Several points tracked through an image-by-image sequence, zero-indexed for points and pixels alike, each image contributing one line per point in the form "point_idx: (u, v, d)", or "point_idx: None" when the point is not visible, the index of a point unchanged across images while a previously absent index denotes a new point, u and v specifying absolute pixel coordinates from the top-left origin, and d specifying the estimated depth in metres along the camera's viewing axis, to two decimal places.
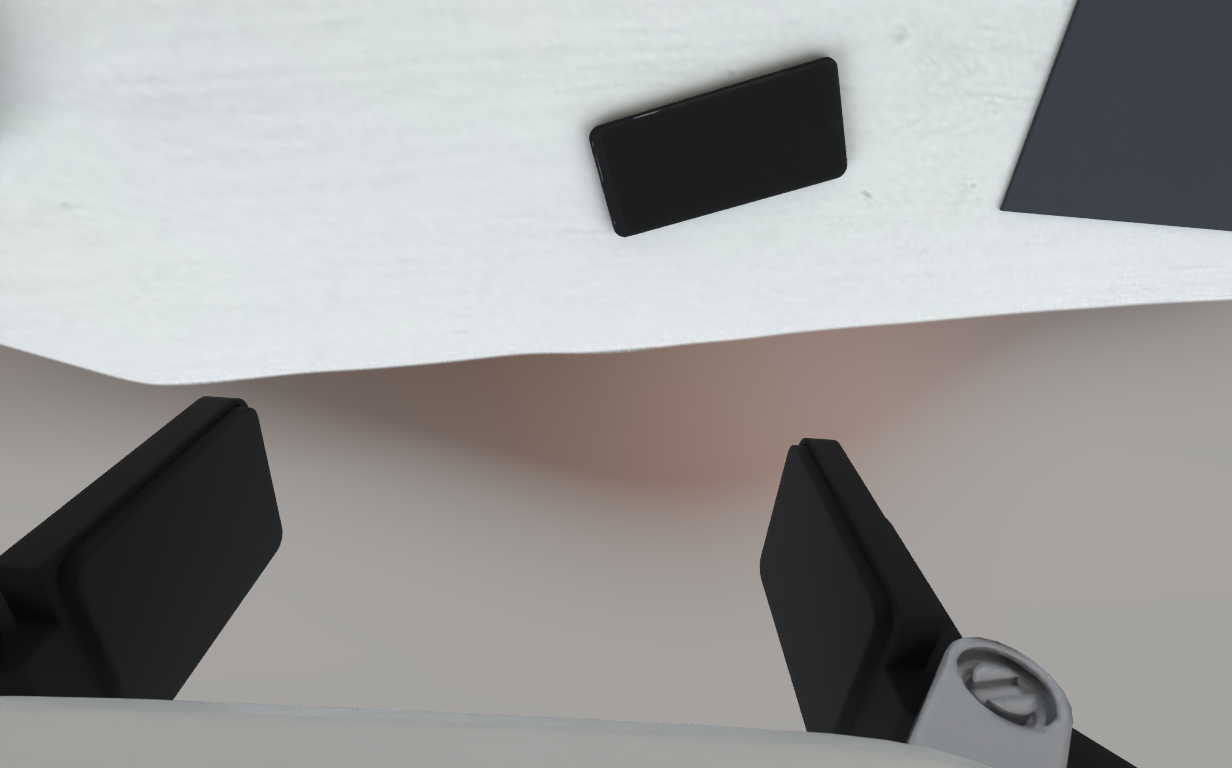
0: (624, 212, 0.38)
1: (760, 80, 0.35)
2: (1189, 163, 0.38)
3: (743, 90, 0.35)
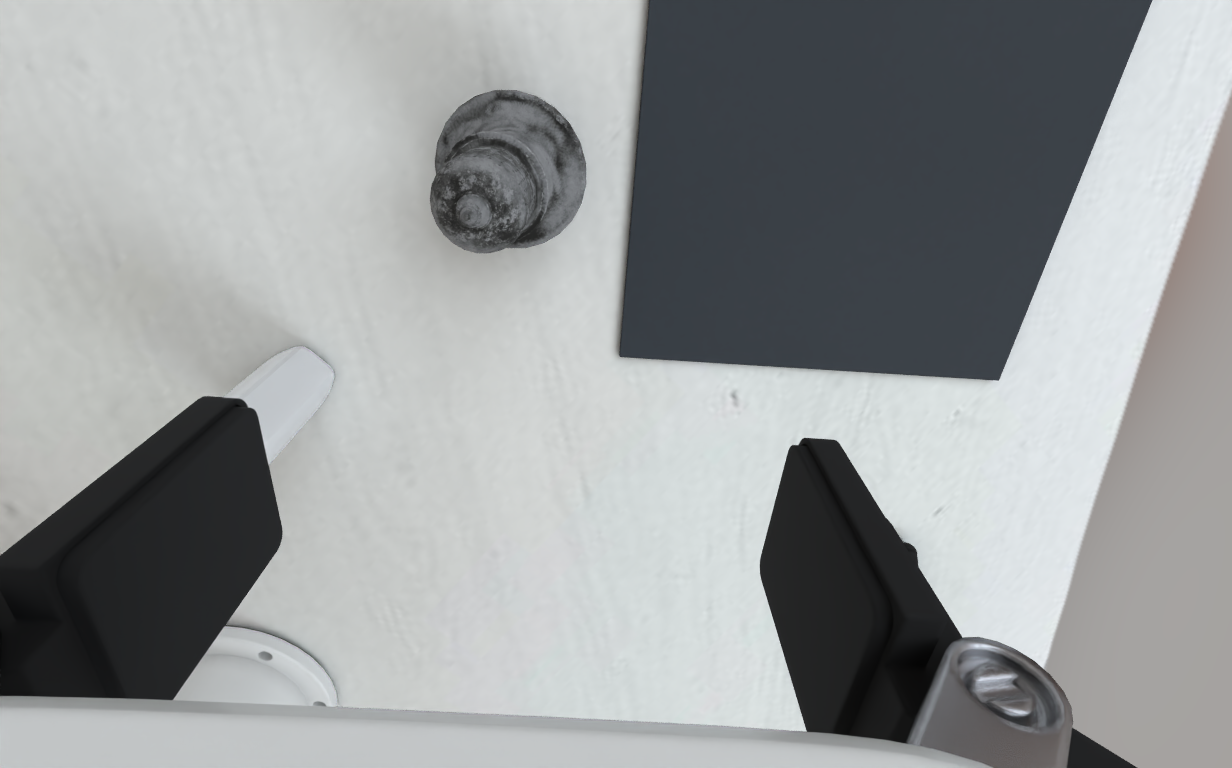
0: None
1: None
2: (1002, 159, 0.27)
3: None
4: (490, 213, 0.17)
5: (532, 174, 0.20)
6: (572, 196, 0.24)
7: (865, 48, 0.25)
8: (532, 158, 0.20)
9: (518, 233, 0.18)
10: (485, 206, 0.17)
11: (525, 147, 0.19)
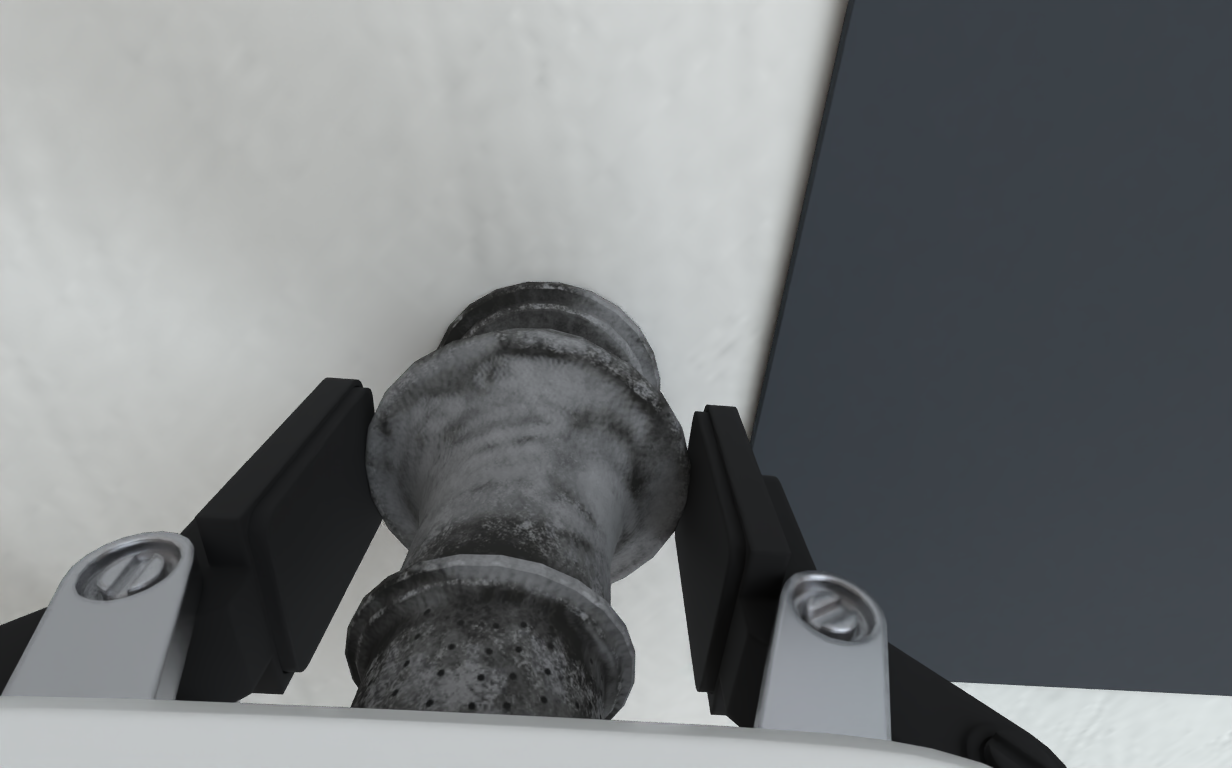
0: None
1: None
2: None
3: None
4: None
5: (597, 656, 0.07)
6: (658, 525, 0.11)
7: None
8: (598, 617, 0.07)
9: None
10: None
11: (579, 593, 0.07)
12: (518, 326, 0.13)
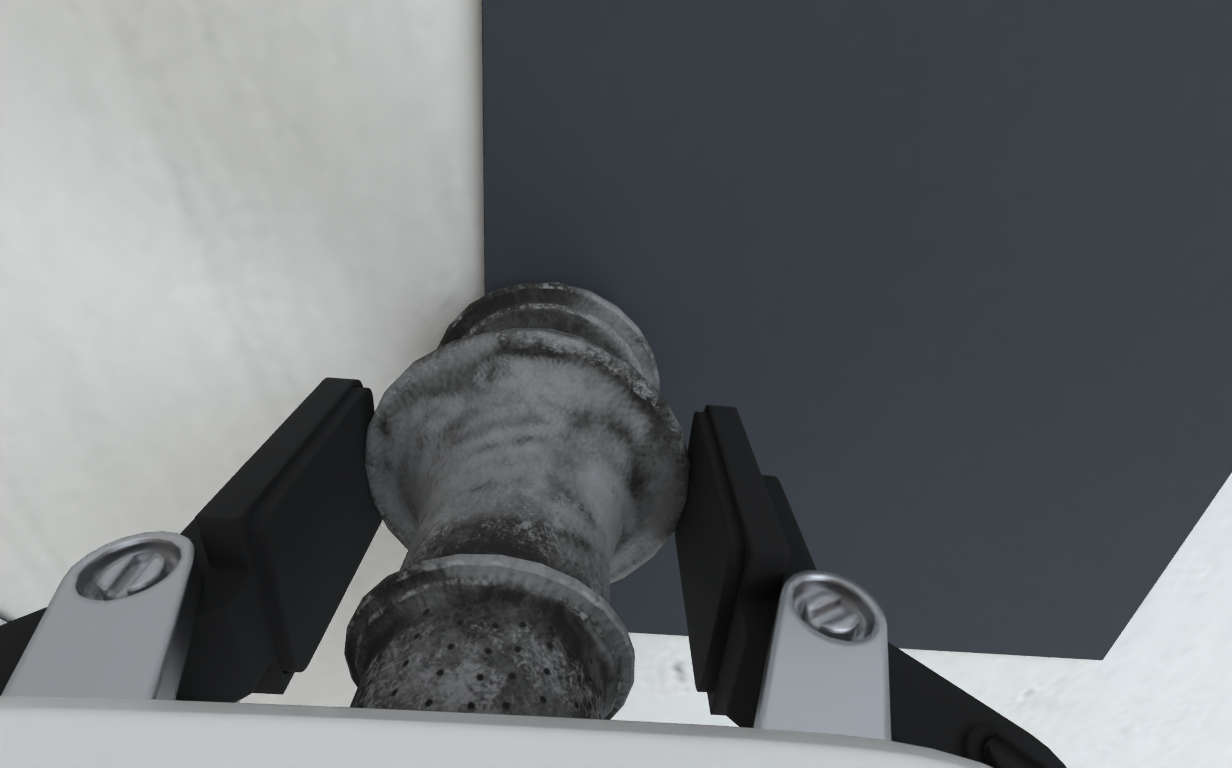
0: None
1: None
2: (1155, 355, 0.15)
3: None
4: None
5: (597, 655, 0.07)
6: (657, 524, 0.11)
7: (916, 162, 0.12)
8: (597, 617, 0.07)
9: None
10: None
11: (578, 592, 0.07)
12: (518, 326, 0.13)
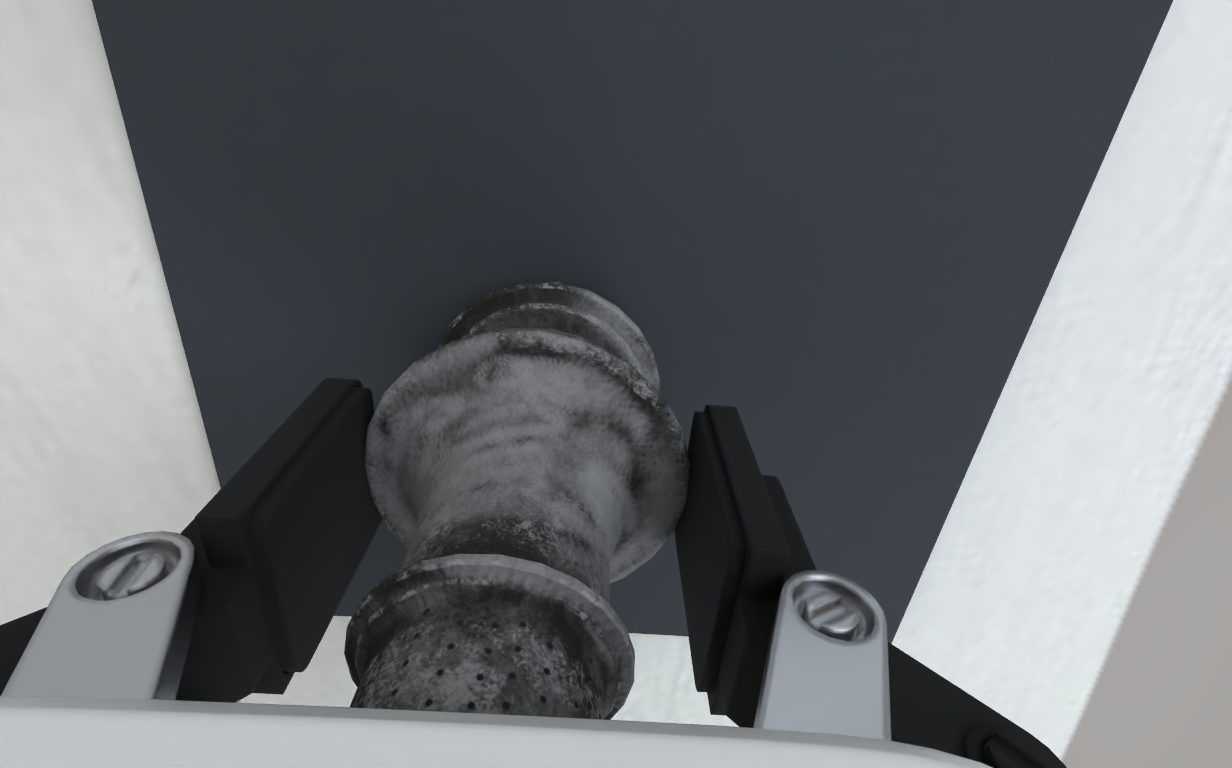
0: None
1: None
2: (866, 332, 0.14)
3: None
4: None
5: (597, 654, 0.07)
6: (657, 524, 0.11)
7: (571, 129, 0.12)
8: (597, 616, 0.07)
9: None
10: None
11: (578, 592, 0.07)
12: (518, 326, 0.13)
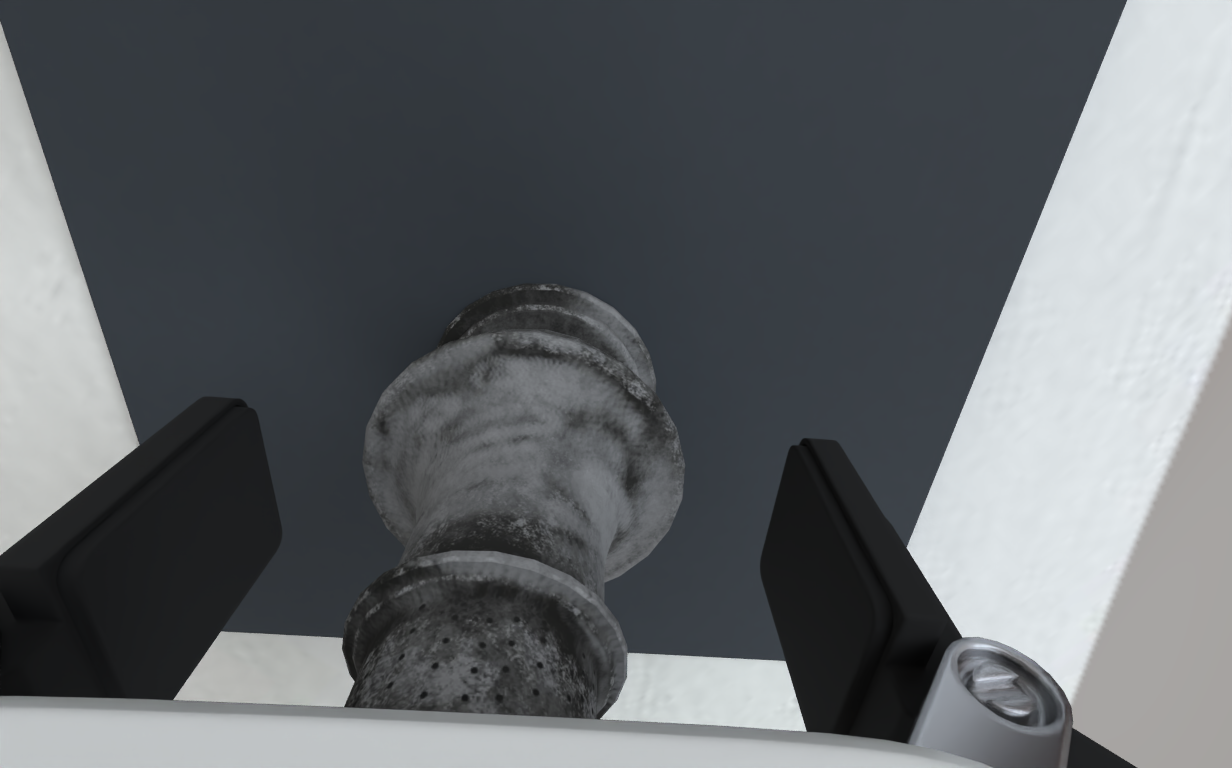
0: None
1: None
2: (822, 341, 0.14)
3: None
4: None
5: (590, 651, 0.07)
6: (653, 523, 0.11)
7: (504, 133, 0.12)
8: (590, 613, 0.07)
9: None
10: None
11: (572, 589, 0.07)
12: (515, 327, 0.13)
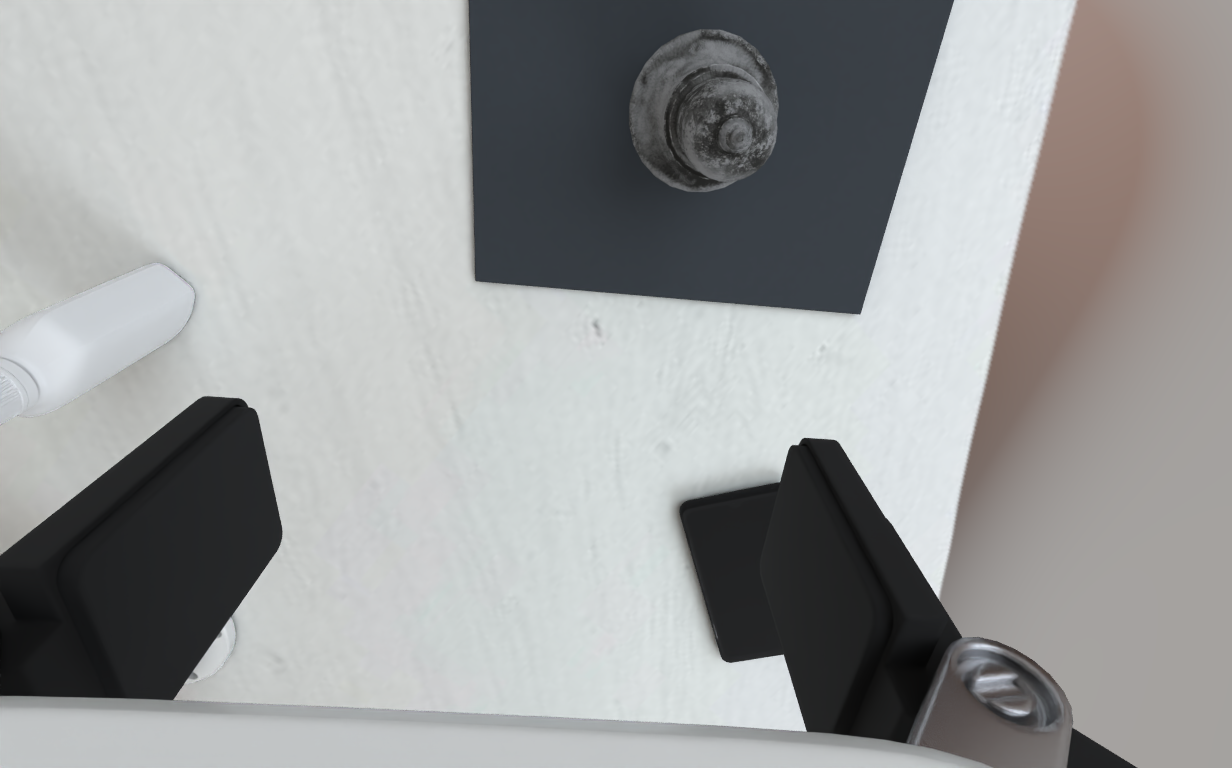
0: None
1: (695, 560, 0.39)
2: (842, 78, 0.26)
3: (702, 571, 0.39)
4: (751, 137, 0.17)
5: None
6: None
7: None
8: None
9: (765, 161, 0.18)
10: (749, 130, 0.17)
11: (754, 80, 0.20)
12: None
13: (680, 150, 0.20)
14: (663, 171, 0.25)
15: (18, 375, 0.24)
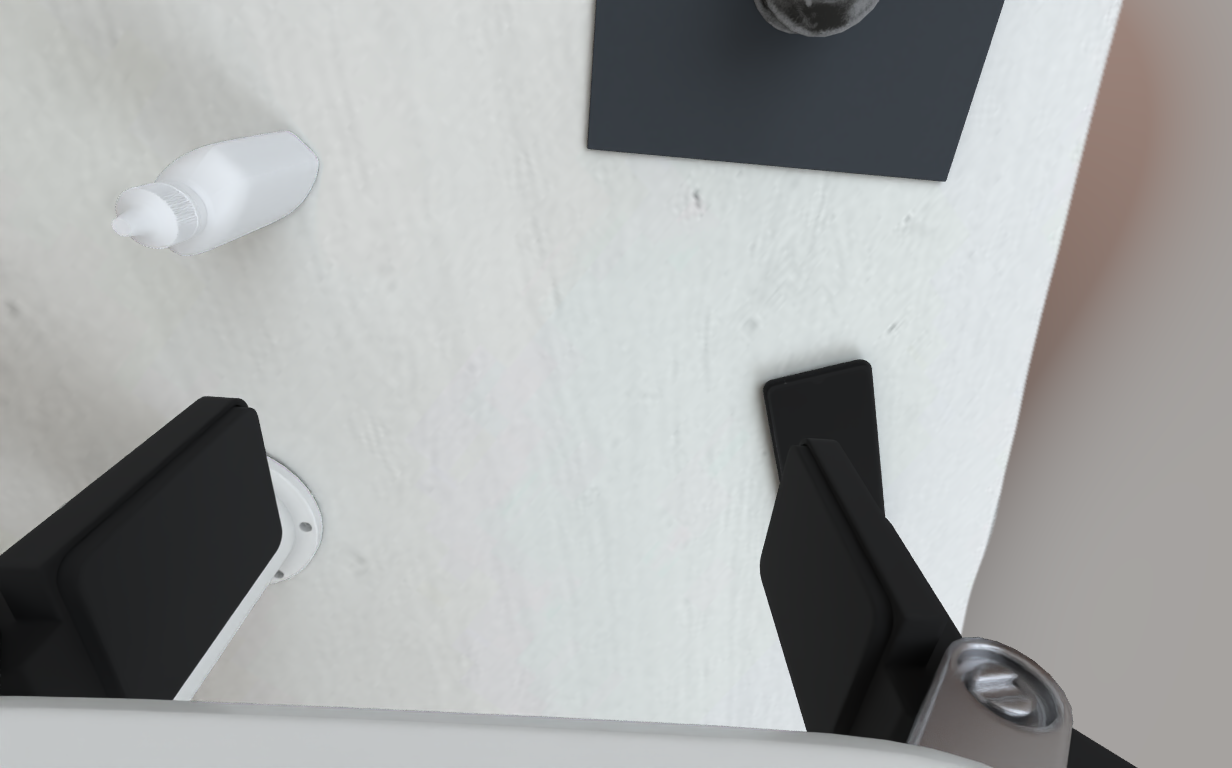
0: None
1: (776, 441, 0.41)
2: None
3: (782, 453, 0.41)
4: None
5: None
6: None
7: None
8: None
9: None
10: None
11: None
12: None
13: None
14: (788, 15, 0.27)
15: (193, 197, 0.25)
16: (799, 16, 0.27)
